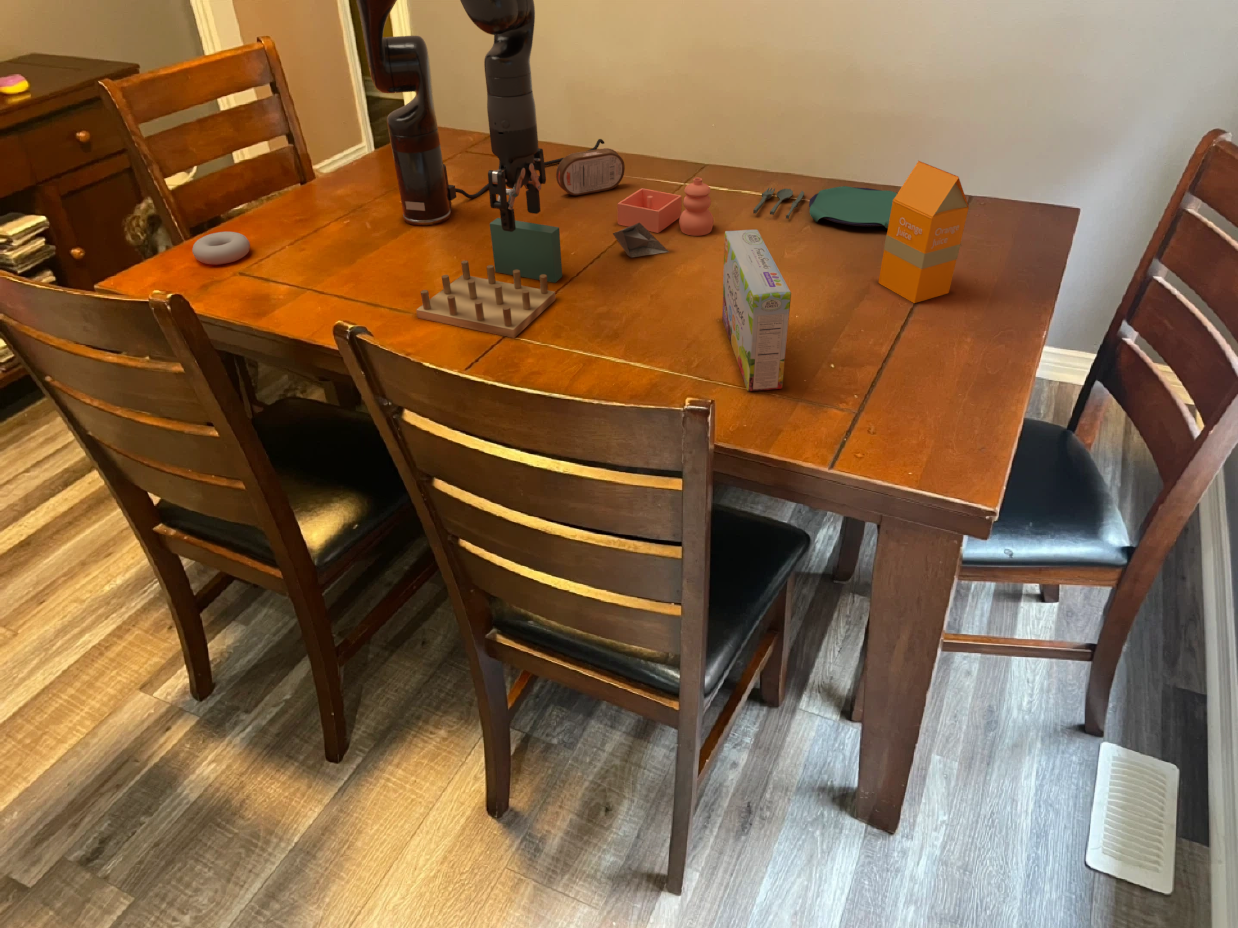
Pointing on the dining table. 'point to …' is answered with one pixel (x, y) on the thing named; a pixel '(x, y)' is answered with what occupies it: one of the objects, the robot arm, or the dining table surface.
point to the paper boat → (638, 241)
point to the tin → (590, 171)
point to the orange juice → (924, 234)
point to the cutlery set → (842, 205)
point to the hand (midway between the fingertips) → (521, 221)
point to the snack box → (755, 309)
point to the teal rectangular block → (527, 250)
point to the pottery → (669, 209)
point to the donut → (221, 248)
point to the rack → (486, 303)
